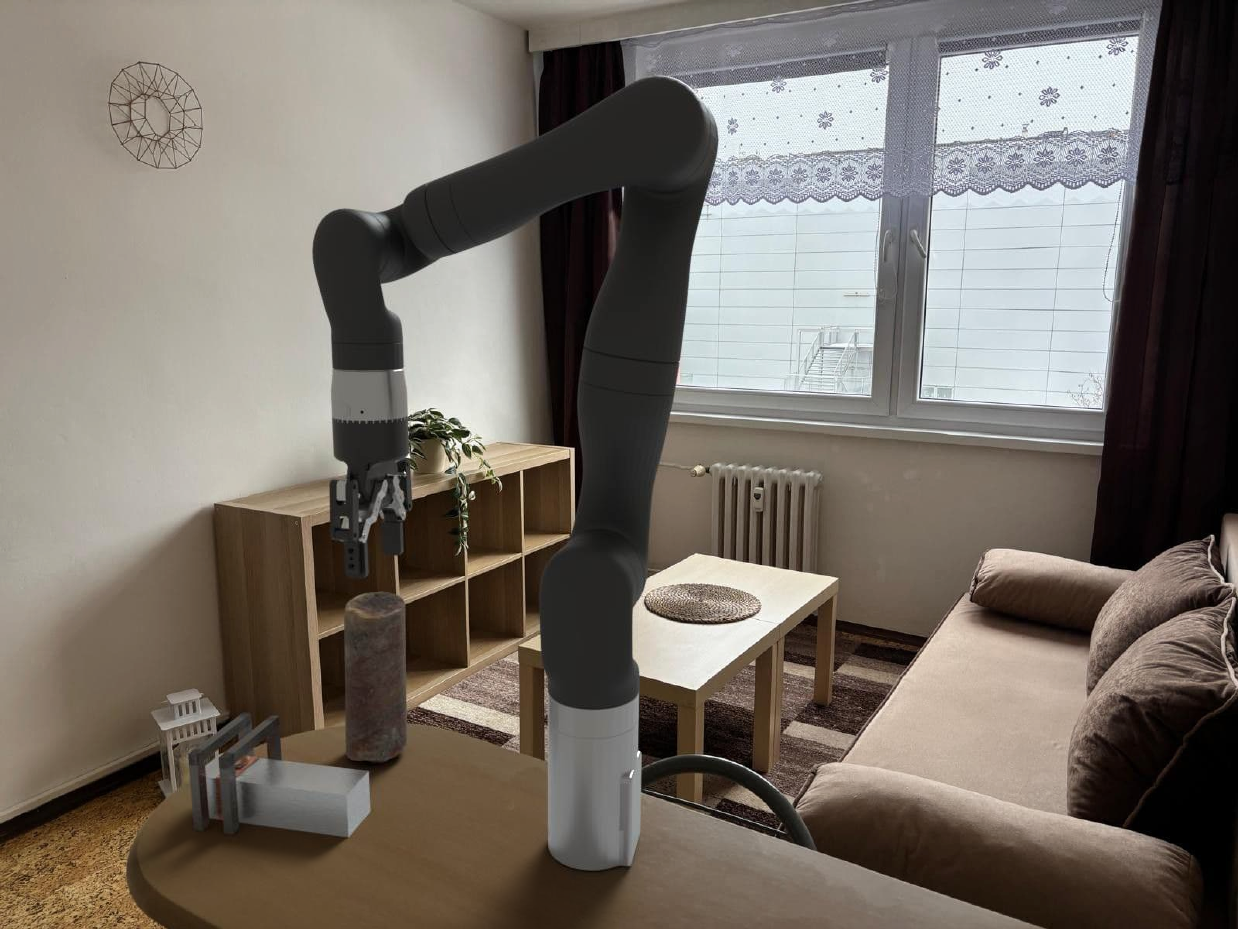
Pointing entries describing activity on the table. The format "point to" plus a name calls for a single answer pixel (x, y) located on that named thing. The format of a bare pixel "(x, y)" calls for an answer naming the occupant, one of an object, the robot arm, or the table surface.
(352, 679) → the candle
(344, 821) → the brushed metal post
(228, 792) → the collar
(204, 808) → the collar
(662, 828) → the table surface
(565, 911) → the table surface
